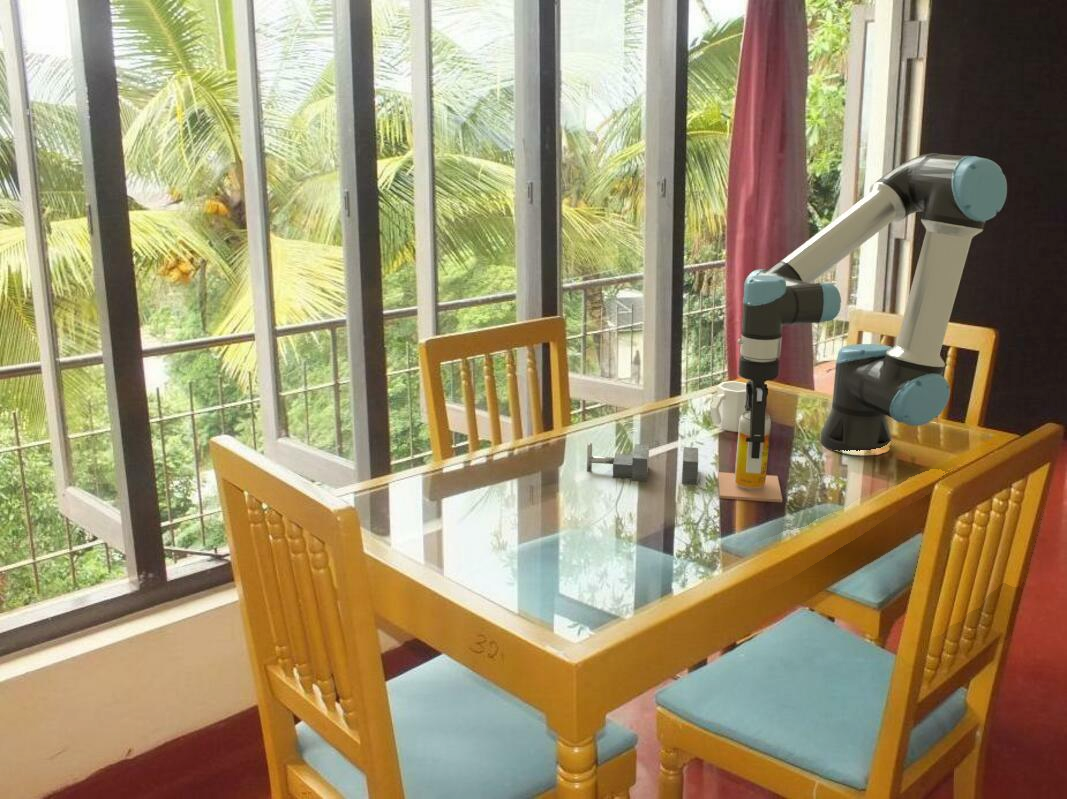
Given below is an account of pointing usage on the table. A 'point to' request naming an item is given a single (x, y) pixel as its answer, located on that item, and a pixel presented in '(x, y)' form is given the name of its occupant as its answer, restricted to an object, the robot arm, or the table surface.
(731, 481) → the coaster
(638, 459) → the vise
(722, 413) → the mug
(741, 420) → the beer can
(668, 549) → the table surface
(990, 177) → the robot arm
